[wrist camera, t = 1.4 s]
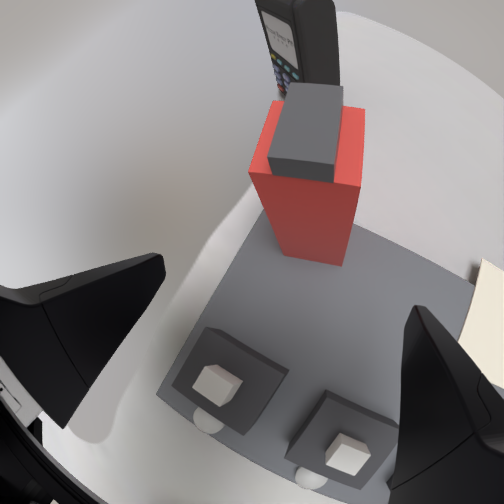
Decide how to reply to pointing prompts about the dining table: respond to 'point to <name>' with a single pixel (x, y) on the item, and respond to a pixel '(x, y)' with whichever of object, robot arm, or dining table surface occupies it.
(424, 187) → the dining table surface
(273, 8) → the card reader
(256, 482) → the dining table surface
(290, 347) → the breaker panel
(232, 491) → the dining table surface
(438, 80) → the dining table surface
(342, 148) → the block
